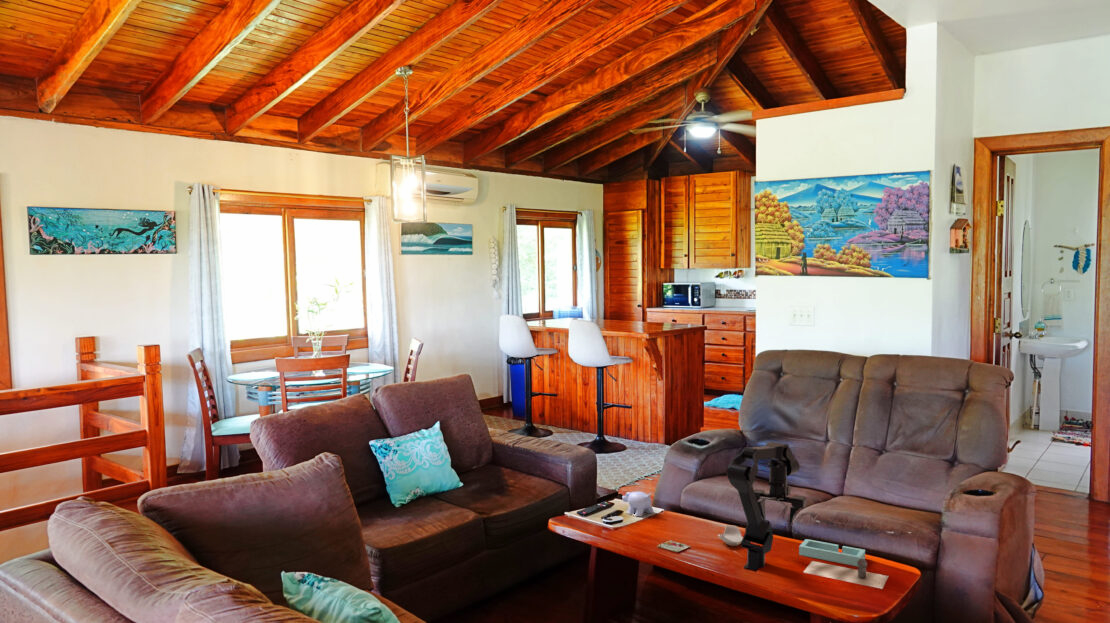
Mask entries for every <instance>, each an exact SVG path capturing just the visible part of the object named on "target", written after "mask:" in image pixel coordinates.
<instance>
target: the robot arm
mask: <svg viewBox="0 0 1110 623" xmlns="http://www.w3.org/2000/svg"><path fill="white" fill-rule="evenodd" d="M768 459H771V460H770V462H768V463H767V465H766V466H767V467H768V468H769V481H768V486H769V488H768V490H769V491H768V492H769V493H765V489H757V488H754V484H755V482H756V476H757V474H758V473H759V464H758V463H759V461H761V460H768ZM746 460H749V461H753V462H752V466H748V465H745V464H744V465H743V463H745V462H746ZM800 468H801V466H800V464H799V461H798V460H797V459H796V458H795V455H794V454H793V452H792V449H791V447H790V445H789V444H788V443H783V442H782V443H781V442H775V441H770V442H767V443H766V445H763V446H752V447H748V446H746V447H744V448H743V449H742V450H741V452H740V453H739V454H737V455H736V456H735V457H734V458H732V459H731V461H730V463H729V465H728V467H727V468H726V476H727V480H728V481H729V483H730V485H731V486H732V487H733V488H734V489H736V490H737V493H738V496H739V499H740V503H741V506H742V509H743V511H744V515H745V518H746V522H747V525H746V527H745V529H744V530H745V532H744V535H742V537H743V539H742V541H741V544H740V546H741V549H747V550H746V551H747V552H746V553H747V555H746V556H747V558H746V559H747V560H746V561H747V562H746V563H745V565H744V566H743V569H747V570H751V571H756V572H757V571H759V570H760V569H762V568H764V567H765V566H766V554H767V553H769V552H771V550H772V547H773V541H774V534H773V528H772V526H771V522H770V520H769V519H768V520H767V519H766V500H770V501H776V502H783V503H787V504H791V507H790V508H789V526H792V524H793V523H794V520H795V517H796V515H797V512H798V511H800V510H801V509H804V508H805V507H806V506H807V505H808V498H807V497H806V496H803V495H794V496H793V497H791V490H792V489H791V488H792V486H791V485H789V484H788V477H789V476H792V475H794V474H797V473H798V472H799V470H800ZM761 545H762V546H761Z"/></svg>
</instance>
